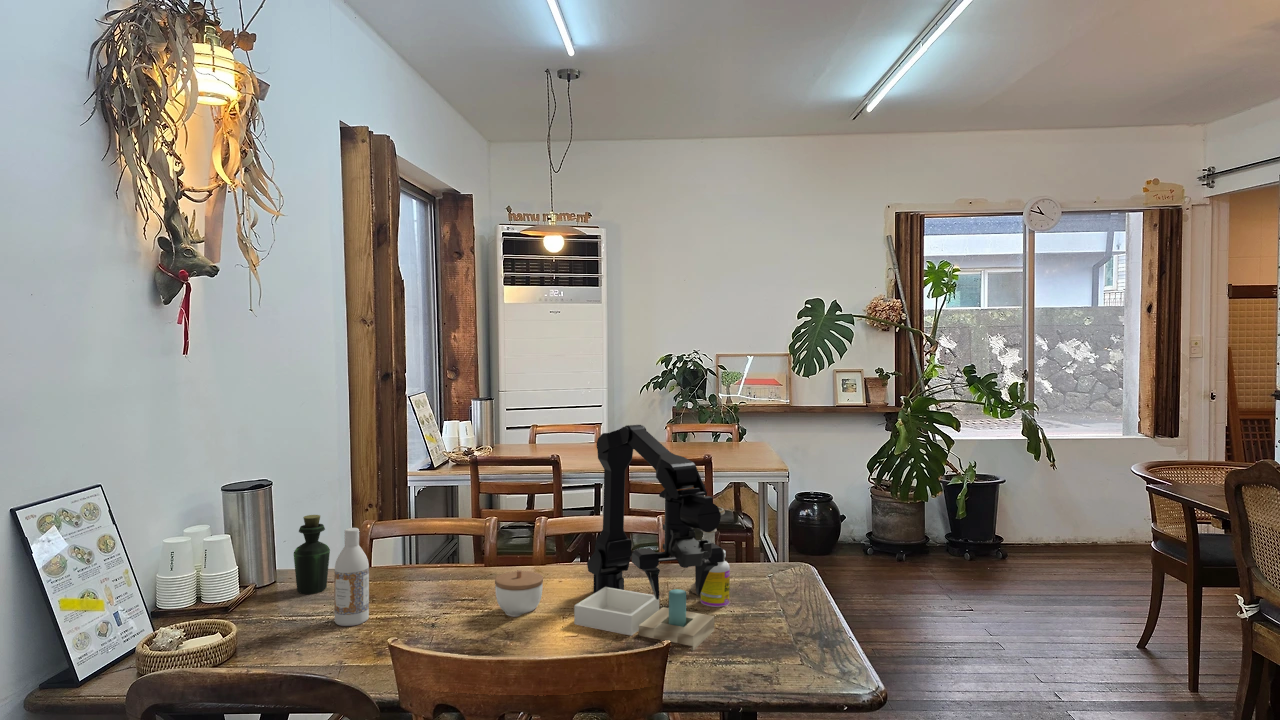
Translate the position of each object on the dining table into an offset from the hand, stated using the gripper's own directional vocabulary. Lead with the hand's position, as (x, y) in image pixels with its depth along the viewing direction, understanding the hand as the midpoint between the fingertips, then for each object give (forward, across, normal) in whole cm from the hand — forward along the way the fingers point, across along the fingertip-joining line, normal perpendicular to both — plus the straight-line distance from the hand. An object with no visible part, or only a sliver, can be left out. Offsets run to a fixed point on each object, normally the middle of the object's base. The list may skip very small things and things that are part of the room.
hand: (677, 596), depth 153 cm
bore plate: (+8, 0, 0) cm, 8 cm away
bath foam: (+8, -64, +29) cm, 71 cm away
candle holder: (+8, +18, +24) cm, 31 cm away
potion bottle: (+8, -74, +54) cm, 92 cm away
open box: (+8, -10, +10) cm, 16 cm away
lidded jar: (+8, -29, +24) cm, 38 cm away
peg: (+8, 0, 0) cm, 8 cm away
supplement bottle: (+8, +15, +14) cm, 22 cm away
